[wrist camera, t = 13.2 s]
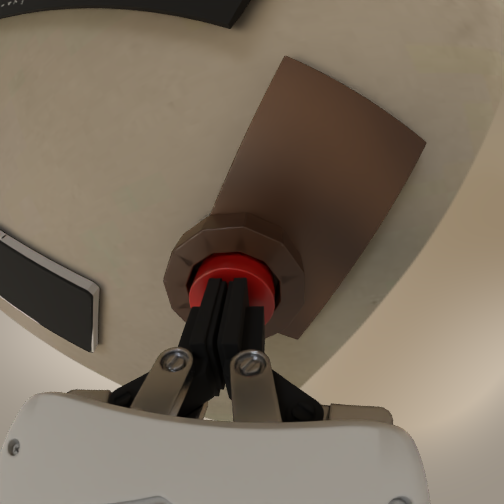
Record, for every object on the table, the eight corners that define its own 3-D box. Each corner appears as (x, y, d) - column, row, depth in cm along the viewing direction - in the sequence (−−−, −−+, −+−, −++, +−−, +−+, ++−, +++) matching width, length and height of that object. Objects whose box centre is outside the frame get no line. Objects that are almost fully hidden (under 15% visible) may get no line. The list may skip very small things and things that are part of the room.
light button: (254, 322, 15) (252, 345, 14) (187, 296, 15) (179, 317, 13) (288, 268, 13) (290, 289, 12) (212, 236, 13) (204, 254, 11)
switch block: (293, 331, 18) (295, 365, 16) (168, 283, 17) (152, 314, 14) (416, 139, 12) (446, 148, 9) (265, 52, 10) (264, 36, 8)
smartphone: (93, 355, 20) (-14, 287, 18) (98, 346, 21) (-8, 281, 19) (93, 292, 16) (-26, 221, 14) (101, 282, 17) (-18, 215, 15)
